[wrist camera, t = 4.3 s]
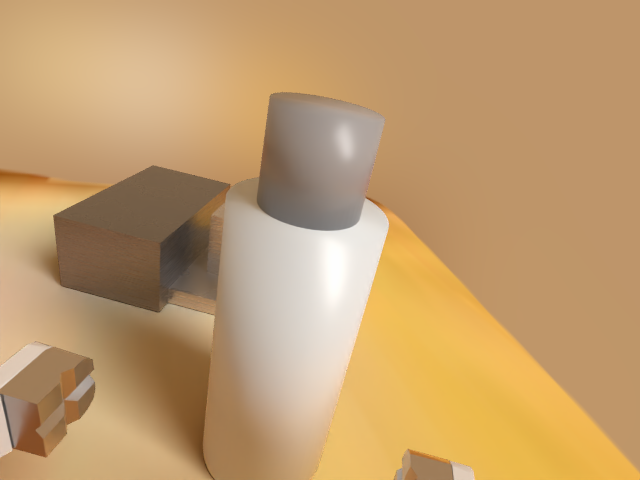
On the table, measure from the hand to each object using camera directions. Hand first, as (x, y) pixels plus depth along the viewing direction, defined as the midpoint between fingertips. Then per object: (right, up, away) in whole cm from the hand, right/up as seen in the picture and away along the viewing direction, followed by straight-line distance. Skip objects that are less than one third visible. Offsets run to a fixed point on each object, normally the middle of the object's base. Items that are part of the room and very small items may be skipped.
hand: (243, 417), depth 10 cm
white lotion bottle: (0, -4, +7) cm, 8 cm away
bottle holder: (-5, +2, +18) cm, 18 cm away
